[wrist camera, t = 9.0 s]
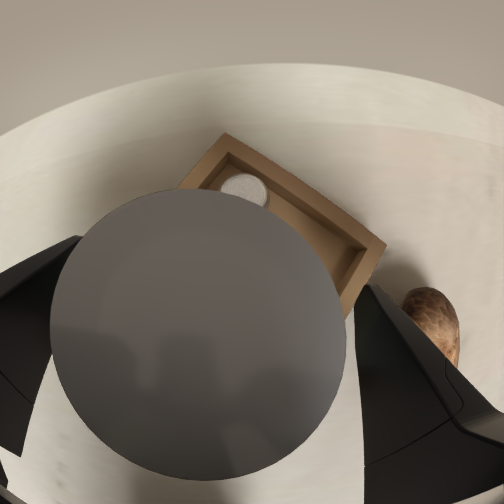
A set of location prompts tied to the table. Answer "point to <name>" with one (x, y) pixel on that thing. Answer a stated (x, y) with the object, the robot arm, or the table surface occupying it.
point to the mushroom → (435, 319)
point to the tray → (298, 214)
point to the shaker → (197, 334)
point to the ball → (247, 188)
